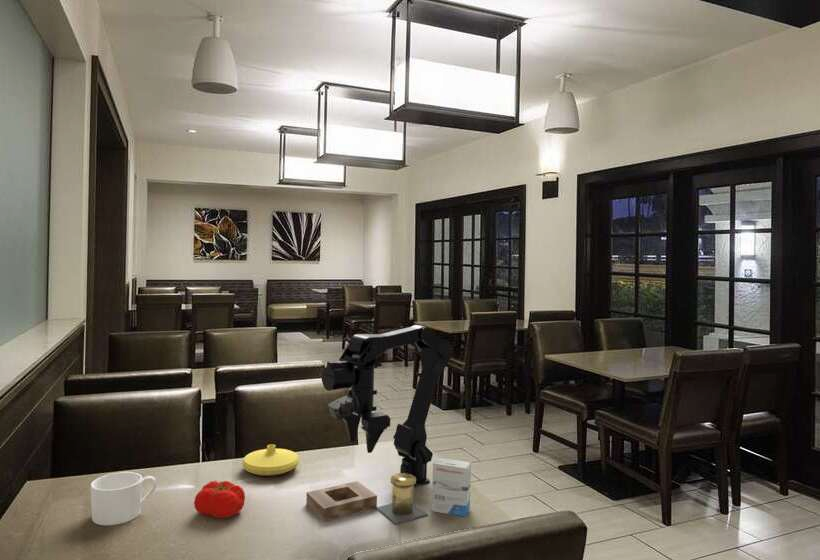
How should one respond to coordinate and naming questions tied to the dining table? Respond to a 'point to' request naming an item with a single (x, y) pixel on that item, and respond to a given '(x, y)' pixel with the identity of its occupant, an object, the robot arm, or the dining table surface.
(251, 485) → the dining table surface
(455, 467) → the ink box
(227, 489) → the tomato
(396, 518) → the felt pad
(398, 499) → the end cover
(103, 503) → the mug
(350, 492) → the bore block
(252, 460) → the yellow flat knobbed disc
